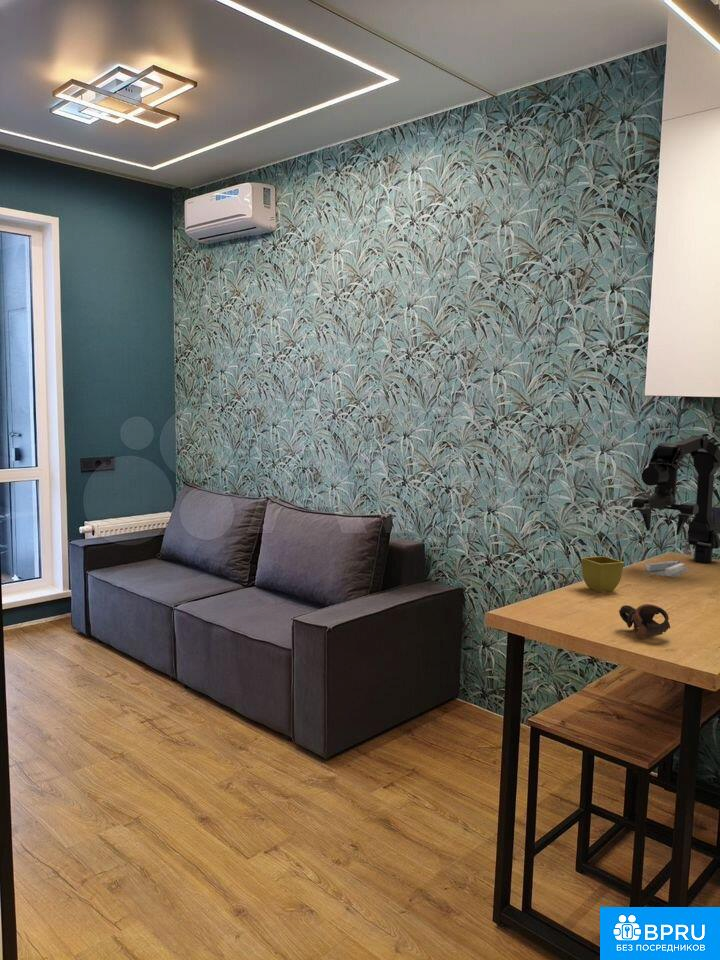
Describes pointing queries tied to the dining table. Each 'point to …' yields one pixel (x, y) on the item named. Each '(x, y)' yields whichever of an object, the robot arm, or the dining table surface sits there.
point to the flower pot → (601, 573)
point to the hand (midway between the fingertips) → (662, 532)
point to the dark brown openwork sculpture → (645, 619)
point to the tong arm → (660, 565)
